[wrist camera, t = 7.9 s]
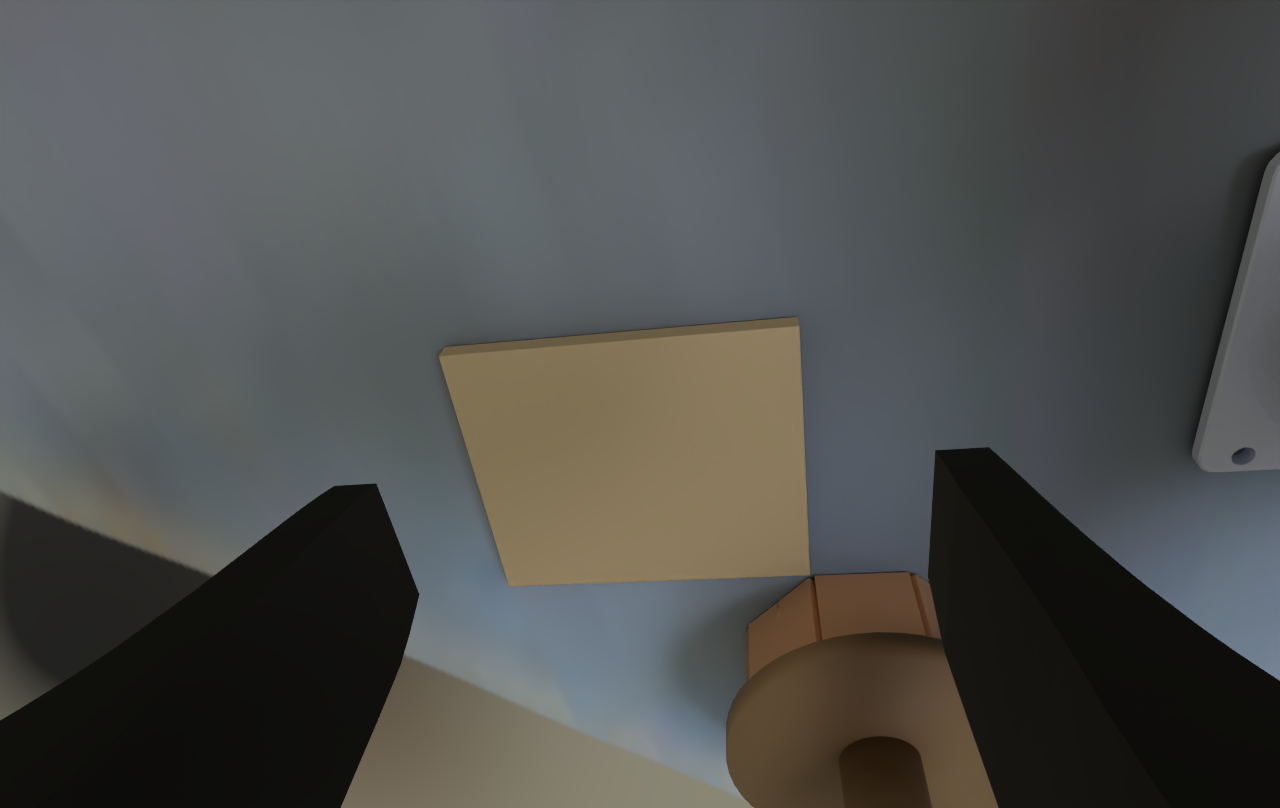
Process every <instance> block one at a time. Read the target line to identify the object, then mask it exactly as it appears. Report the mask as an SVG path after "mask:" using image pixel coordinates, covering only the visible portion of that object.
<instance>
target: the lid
mask: <svg viewBox="0 0 1280 808" xmlns="http://www.w3.org/2000/svg"><path fill="white" fill-rule="evenodd" d="M726 760H727V766H728V770H729V774H730V776H731V778H732V780H733V783H734V785H735V786H736V788H737V789H738V791H739V792H740V793H741V795H742V796H743V797H744V798H745V799H746V800H747V801H748V802H749V804H750V805H751V806H753V807H754V808H998V805H997V802H996V799H995V796H994V793H993V790H992V788H991V785H990V782H989V779H988V776H987V773H986V770H985V768H984V765H983V762H982V759H981V756H980V753H979V750H978V748H977V745H976V742H975V739H974V736H973V733H972V730H971V728H970V725H969V722H968V719H967V716H966V713H965V710H964V708H963V705H962V702H961V699H960V696H959V693H958V690H957V687H956V684H955V681H954V678H953V676H952V673H951V670H950V667H949V664H948V661H947V658H946V655H945V652H944V648H943V643H942V639H938V638H933V637H928V636H924V635H916V634H908V633H893V632H873V633H858V634H851V635H844V636H838V637H833V638H829V639H825V640H821V641H817V642H813V643H811V644H808V645H805V646H802V647H800V648H797V649H794V650H792V651H790V652H788V653H786V654H784V655H782V656H780V657H778V658H776V659H775V660H773V661H772V662H770V663H769V664H767V665H765V666H764V667H763V668H761V669H760V670H759V671H758V672H757V673H755V674H754V675H753V676H752V677H751V678H750V679H749V680H748V681H747V682H746V683H745V685H744V686H743V687H742V688H741V689H740V691H739V692H738V694H737V696H736V697H735V699H734V700H733V703H732V705H731V708H730V710H729V713H728V718H727V724H726Z"/></svg>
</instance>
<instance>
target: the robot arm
mask: <svg viewBox="0 0 1280 808" xmlns="http://www.w3.org/2000/svg"><path fill="white" fill-rule="evenodd" d="M1245 447H1246V448H1245ZM1241 448H1245V450H1244V451H1243V452H1241V453H1240V454H1237V455H1233V454H1234V452H1236V451H1237V450H1239V449H1241ZM1232 455H1233V456H1232ZM1192 457H1193V459H1194V460H1195V462H1196V463H1197V464H1198V465H1199V467H1200V468H1201V469H1203V470H1205V471H1207V472H1214V473H1218V472H1237V471H1256V470H1275V469H1280V152H1279V153H1278V154H1276V155H1275V156H1274V158H1273V159H1272V160H1271V161H1270V162H1269V163H1268V165H1267V168H1266V170H1265V172H1264V175H1263V179H1262V183H1261V187H1260V191H1259V195H1258V198H1257V202H1256V206H1255V210H1254V214H1253V218H1252V222H1251V225H1250V229H1249V233H1248V237H1247V241H1246V245H1245V249H1244V252H1243V256H1242V260H1241V264H1240V268H1239V272H1238V275H1237V279H1236V283H1235V287H1234V291H1233V295H1232V299H1231V302H1230V306H1229V310H1228V314H1227V318H1226V322H1225V326H1224V329H1223V333H1222V337H1221V341H1220V345H1219V349H1218V352H1217V356H1216V360H1215V364H1214V368H1213V372H1212V376H1211V379H1210V383H1209V387H1208V391H1207V395H1206V399H1205V403H1204V406H1203V410H1202V414H1201V418H1200V422H1199V426H1198V429H1197V433H1196V437H1195V441H1194V445H1193V449H1192ZM928 578H929V583H930V588H931V593H932V597H933V602H934V607H935V612H936V617H937V621H938V626H939V630H940V634H941V639H942V643H943V648H944V652H945V655H946V658H947V661H948V664H949V667H950V670H951V673H952V676H953V678H954V681H955V684H956V687H957V690H958V693H959V696H960V699H961V702H962V705H963V708H964V710H965V713H966V716H967V719H968V722H969V725H970V728H971V730H972V733H973V736H974V739H975V742H976V745H977V748H978V750H979V753H980V756H981V759H982V762H983V765H984V768H985V770H986V773H987V776H988V779H989V782H990V785H991V788H992V790H993V793H994V796H995V799H996V802H997V805H998V808H1280V681H1279V680H1277V679H1276V678H1274V677H1273V676H1271V675H1270V674H1268V673H1267V672H1265V671H1264V670H1262V669H1261V668H1259V667H1258V666H1256V665H1255V664H1253V663H1252V662H1250V661H1249V660H1247V659H1246V658H1244V657H1243V656H1241V655H1240V654H1238V653H1237V652H1235V651H1234V650H1232V649H1231V648H1230V647H1228V646H1227V645H1225V644H1224V643H1222V642H1221V641H1220V640H1218V639H1217V638H1215V637H1214V636H1213V635H1211V634H1210V633H1208V632H1207V631H1205V630H1204V629H1203V628H1201V627H1200V626H1199V625H1197V624H1196V623H1195V622H1193V621H1192V620H1191V619H1189V618H1188V617H1187V616H1185V615H1184V614H1183V613H1181V612H1180V611H1179V610H1177V609H1176V608H1175V607H1174V606H1172V605H1171V604H1170V603H1168V602H1167V601H1166V600H1164V599H1163V598H1162V597H1160V596H1159V595H1158V594H1156V593H1155V592H1154V591H1152V590H1151V589H1150V588H1148V587H1147V586H1146V585H1145V584H1143V583H1142V582H1141V581H1140V580H1138V579H1137V578H1136V577H1135V576H1133V575H1132V574H1131V573H1130V572H1128V571H1127V570H1126V569H1125V568H1124V567H1123V566H1121V565H1120V564H1119V563H1118V562H1117V561H1116V560H1114V559H1113V558H1112V557H1111V556H1110V555H1108V554H1107V553H1106V552H1105V551H1104V550H1103V549H1101V548H1100V547H1099V546H1098V545H1097V544H1095V543H1094V542H1093V541H1092V540H1091V539H1090V538H1088V537H1087V536H1086V535H1085V534H1084V533H1083V532H1081V531H1080V530H1079V529H1078V528H1077V527H1076V526H1075V525H1073V524H1072V523H1071V522H1070V521H1069V520H1068V519H1067V518H1066V517H1064V516H1063V515H1062V514H1061V513H1060V512H1059V511H1058V510H1057V509H1056V508H1055V507H1053V506H1052V505H1051V504H1050V503H1049V502H1048V501H1047V500H1046V499H1045V498H1044V497H1042V496H1041V495H1040V494H1039V493H1038V492H1037V491H1036V490H1035V489H1034V488H1033V487H1032V486H1031V485H1029V484H1028V483H1027V482H1026V481H1025V480H1024V479H1023V478H1022V477H1021V476H1020V475H1019V474H1018V473H1017V472H1015V471H1014V470H1013V469H1012V468H1011V467H1010V466H1009V465H1008V464H1007V463H1006V462H1005V461H1004V460H1002V459H1001V458H1000V457H999V456H998V455H997V454H996V453H995V452H993V451H992V450H991V449H990V448H989V447H987V448H970V449H953V450H936V451H935V468H934V484H933V501H932V518H931V535H930V552H929V569H928ZM418 598H419V593H418V590H417V587H416V585H415V582H414V580H413V577H412V575H411V572H410V569H409V567H408V564H407V562H406V559H405V556H404V554H403V551H402V549H401V546H400V544H399V541H398V538H397V536H396V533H395V531H394V528H393V526H392V523H391V520H390V518H389V515H388V513H387V510H386V508H385V505H384V502H383V500H382V497H381V495H380V492H379V489H378V487H377V484H361V485H344V486H334V487H332V488H331V489H329V490H328V491H326V492H324V493H323V494H321V495H320V496H318V497H317V498H316V499H314V500H313V501H311V502H310V503H309V504H307V505H306V506H304V507H303V508H302V509H300V510H299V511H298V512H296V513H295V514H294V515H292V516H291V517H290V518H288V519H287V520H286V521H284V522H283V523H282V524H280V525H279V526H278V527H277V528H275V529H274V530H273V531H271V532H270V533H269V534H268V535H266V536H265V537H264V538H262V539H261V540H260V541H258V542H257V543H256V544H255V545H253V546H252V547H251V548H249V549H248V550H247V551H246V552H244V553H243V554H242V555H240V556H239V557H238V558H236V559H235V560H234V561H233V562H231V563H230V564H229V565H227V566H226V567H225V568H223V569H222V570H221V571H220V572H218V573H217V574H216V575H214V576H213V577H212V578H210V579H209V580H208V581H207V582H205V583H204V584H203V585H201V586H200V587H199V588H197V589H196V590H195V591H193V592H192V593H191V594H190V595H188V596H186V597H185V598H184V599H182V600H181V601H179V602H178V603H177V604H175V605H174V606H173V607H171V608H170V609H169V610H167V611H166V612H164V613H163V614H161V615H160V616H159V617H157V618H156V619H155V620H153V621H152V622H150V623H149V624H148V625H146V626H145V627H143V628H142V629H141V630H140V631H138V632H137V633H135V634H134V635H132V636H131V637H130V638H128V639H127V640H125V641H124V642H123V643H121V644H120V645H118V646H117V647H116V648H114V649H113V650H111V651H110V652H108V653H107V654H105V655H104V656H102V657H101V658H100V659H98V660H96V661H95V662H93V663H92V664H90V665H89V666H87V667H86V668H84V669H83V670H81V671H80V672H78V673H76V674H75V675H73V676H72V677H70V678H69V679H67V680H66V681H64V682H63V683H61V684H59V685H58V686H56V687H54V688H53V689H51V690H50V691H48V692H46V693H45V694H43V695H42V696H40V697H38V698H37V699H35V700H33V701H32V702H30V703H29V704H27V705H25V706H24V707H22V708H21V709H19V710H17V711H16V712H14V713H12V714H11V715H9V716H7V717H6V718H4V719H2V720H0V808H341V805H342V803H343V801H344V798H345V796H346V794H347V791H348V789H349V786H350V784H351V782H352V779H353V777H354V774H355V772H356V770H357V768H358V765H359V763H360V761H361V758H362V756H363V754H364V751H365V749H366V747H367V744H368V742H369V740H370V737H371V735H372V732H373V730H374V728H375V725H376V723H377V721H378V718H379V716H380V713H381V711H382V709H383V706H384V704H385V701H386V698H387V697H388V694H389V692H390V689H391V687H392V685H393V682H394V680H395V677H396V675H397V672H398V669H399V667H400V665H401V662H402V658H403V655H404V651H405V648H406V644H407V641H408V637H409V634H410V630H411V626H412V622H413V618H414V614H415V610H416V606H417V602H418Z"/></svg>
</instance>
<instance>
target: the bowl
mask: <svg viewBox="0 0 1280 808" xmlns="http://www.w3.org/2000/svg"><path fill="white" fill-rule="evenodd" d="M814 578H815V581H813V580H812V579H810V578H807V579H806V580H805V581H804V582H802V583H801V584H800V585H799V586H797V587H796V588H795V589H793V590H792V591H791V592H790V593H788V594H787V595H786V596H785V597H783V598H782V599H781V600H779V601H778V602H777V603H776V604H774V605H773V606H772V607H770V608H769V609H768V610H767V611H765V612H764V613H763V614H762V615H760V616H759V617H758V618H756V619H755V620H754V621H753V622H751V623H750V624H749V625H748V628H749V629H746V630H747V672H748V680H749V679H750V678H751V677H752V676H753V675H754V674H755V673H757V672H758V671H759V670H760V669H761V668H763V667H764V666H765V665H767V664H769V663H770V662H772V661H773V660H775V659H776V658H778V657H780V656H782V655H784V654H786V653H788V652H790V651H792V650H794V649H797V648H800V647H802V646H805V645H808V644H811V643H813V642H817V641H821V640H825V639H829V638H833V637H838V636H844V635H851V634H858V633H873V632H893V633H908V634H916V635H924V636H928V637H933V638H938V639H941V634H940V630H939V626H938V621H937V617H936V612H935V607H934V602H933V597H932V593H931V588H930V584H929V583H928V582H926V581H925V580H924V579H922V578H921V577H919V576H918V575H916V574H914V575H912V576H911V577H910V573H909V572H895V573H868V574H842V575H815V576H814Z"/></svg>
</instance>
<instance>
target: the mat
mask: <svg viewBox="0 0 1280 808" xmlns="http://www.w3.org/2000/svg"><path fill="white" fill-rule="evenodd" d="M439 359H440V363H441V366H442V369H443V373H444V376H445V379H446V382H447V386H448V389H449V392H450V395H451V399H452V402H453V405H454V408H455V412H456V415H457V418H458V421H459V425H460V428H461V431H462V434H463V438H464V441H465V444H466V448H467V451H468V454H469V457H470V461H471V464H472V467H473V470H474V474H475V477H476V480H477V483H478V487H479V490H480V493H481V496H482V500H483V503H484V506H485V509H486V513H487V516H488V519H489V523H490V526H491V529H492V532H493V536H494V539H495V542H496V545H497V549H498V552H499V555H500V558H501V562H502V565H503V568H504V571H505V575H506V578H507V581H508V584H509V586H536V585H563V584H589V583H616V582H643V581H670V580H696V579H723V578H750V577H776V576H803V575H810V560H809V537H808V514H807V491H806V467H805V444H804V421H803V398H802V374H801V351H800V328H799V320H798V317H790V318H778V319H766V320H755V321H743V322H731V323H719V324H708V325H696V326H684V327H673V328H661V329H649V330H638V331H626V332H614V333H603V334H591V335H579V336H567V337H556V338H544V339H532V340H521V341H509V342H497V343H486V344H474V345H462V346H450V347H444V348H443V350H442V352H441V353H440V355H439Z"/></svg>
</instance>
